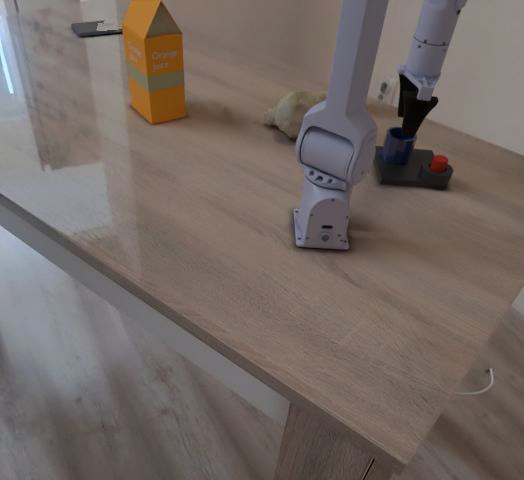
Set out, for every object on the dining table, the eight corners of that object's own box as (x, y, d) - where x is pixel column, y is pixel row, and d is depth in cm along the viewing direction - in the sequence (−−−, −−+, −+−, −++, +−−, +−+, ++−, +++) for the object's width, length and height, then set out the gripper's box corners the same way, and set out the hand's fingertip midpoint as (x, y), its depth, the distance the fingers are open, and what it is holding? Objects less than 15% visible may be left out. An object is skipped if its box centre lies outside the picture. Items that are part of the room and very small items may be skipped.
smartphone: (69, 23, 122) (126, 17, 127) (70, 27, 123) (127, 22, 128) (78, 33, 118) (136, 27, 123) (79, 37, 119) (137, 31, 124)
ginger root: (257, 151, 93) (319, 119, 83) (248, 112, 92) (309, 75, 82) (303, 151, 104) (362, 123, 94) (294, 116, 103) (354, 85, 93)
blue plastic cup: (410, 166, 88) (418, 142, 84) (381, 162, 88) (388, 138, 84) (407, 152, 91) (415, 128, 88) (379, 148, 91) (386, 125, 88)
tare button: (445, 173, 84) (450, 162, 82) (431, 172, 84) (435, 161, 82) (442, 166, 86) (446, 155, 84) (428, 164, 86) (432, 154, 84)
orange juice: (151, 124, 93) (139, 1, 77) (131, 106, 97) (115, -15, 82) (186, 116, 96) (181, -4, 81) (165, 99, 100) (157, -18, 85)
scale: (450, 192, 85) (456, 176, 83) (380, 187, 84) (385, 171, 82) (433, 156, 93) (439, 141, 91) (369, 151, 93) (373, 136, 90)
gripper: (402, 21, 79) (380, 105, 90) (411, 52, 70) (385, 142, 80) (444, 26, 79) (417, 110, 90) (458, 58, 70) (427, 147, 80)
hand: (405, 126), depth 85 cm, fingers open, 7 cm apart
